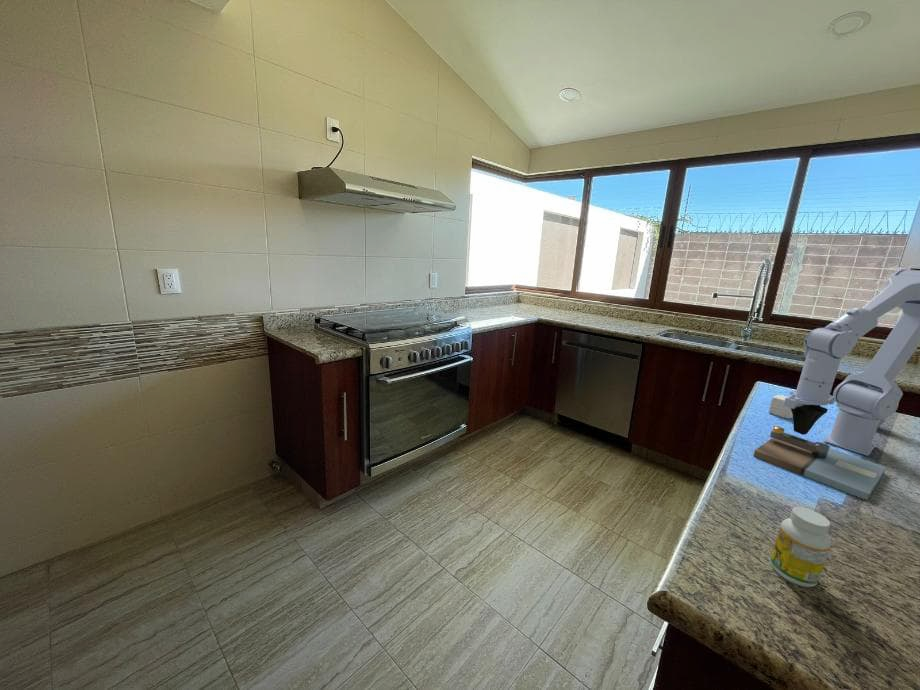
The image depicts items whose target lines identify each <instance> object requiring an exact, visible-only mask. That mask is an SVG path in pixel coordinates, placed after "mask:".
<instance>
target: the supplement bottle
mask: <svg viewBox="0 0 920 690" xmlns="http://www.w3.org/2000/svg"><path fill="white" fill-rule="evenodd" d="M830 527H831V521H829V519H828V518H827V517H825V516H824V515H822V514H821V513H818V512H816V511H814V510H812V509H810V508H807V507H802V506H795V507H793V508H792V509H791V511H790V514H789V518H786V519H784V520H782V522H781V523H780V525H779V529H778V533H777V536H776V539H775V543H774V544H773V545H774V546H773V549H772V552H771V555H770V560H769V562H770V565H771V567H772V568H773V570H774V571H775V572H776V573H777V574H778V575H779V576H781V577H782V578H784V579H785V580H787V581H789V582H790V583H792V584H794V585H798V586H800V587H805V588H813V587H815V586H817V585H818V583H819V581H820V579H821V576H822V572H823V570H824V568H825V567H824V566H825V564H826V561H827V558H828V555H829V552H830V549H831V547H832V540H831V538H830V536H829V534H828V533H829V532H830V531H829V530H830Z"/></svg>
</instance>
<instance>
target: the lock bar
mask: <svg viewBox="0 0 920 690" xmlns="http://www.w3.org/2000/svg"><path fill="white" fill-rule="evenodd" d="M769 438H771V439H772V438H775V439H778V440H781V441H783V442H786V443H789V444H792V445H795V446H798V447H800V448H803V449H806V450H809V451H812V454H813V455H814V456H816V457H819V458H826V457H827V454H828V451H829V448H831V446H830V445H829V444H828V443H827V444H826V443H825V442H819V441H816V442H814V441H811V440H807V439H805V438H802V437H800V436H796V435H792V434H791V433H790V434H789V433H787V432H785V428H783V427H781V426H778V425H774V426H773V428H772V430H771V431H770V436H769Z"/></svg>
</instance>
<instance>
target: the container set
mask: <svg viewBox="0 0 920 690" xmlns="http://www.w3.org/2000/svg"><path fill="white" fill-rule="evenodd" d="M788 397H789V396H786V395H782V394H776V395H773V396H772V398H771V401H770V404H769V408H768V413H769V414H772V415H775V416H777V417H781V418H784V419H787V420H789V419H791V418H792V419H793V414H792V411H791V408H790V407H787V406H784V401H785V398H788Z"/></svg>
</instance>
